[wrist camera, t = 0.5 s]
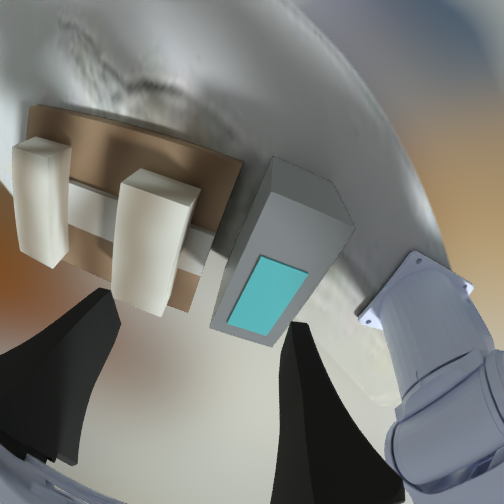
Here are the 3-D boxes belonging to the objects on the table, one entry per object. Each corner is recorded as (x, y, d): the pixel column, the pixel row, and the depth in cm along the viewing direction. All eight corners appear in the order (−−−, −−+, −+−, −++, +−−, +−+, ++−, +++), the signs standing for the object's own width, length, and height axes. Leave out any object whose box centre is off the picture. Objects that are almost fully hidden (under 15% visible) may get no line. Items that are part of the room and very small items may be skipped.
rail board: (243, 161, 16) (234, 183, 13) (190, 304, 23) (178, 340, 20) (38, 104, 14) (1, 116, 10) (36, 237, 21) (12, 261, 17)
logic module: (332, 181, 16) (356, 229, 11) (274, 284, 21) (271, 348, 16) (273, 155, 16) (271, 192, 11) (225, 267, 21) (208, 329, 16)
